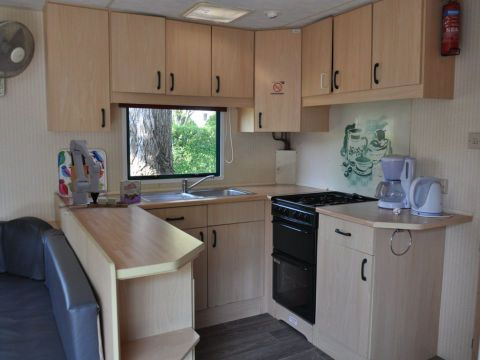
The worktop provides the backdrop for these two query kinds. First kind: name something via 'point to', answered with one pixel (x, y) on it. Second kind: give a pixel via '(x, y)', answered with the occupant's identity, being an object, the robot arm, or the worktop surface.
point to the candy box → (130, 191)
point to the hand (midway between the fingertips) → (94, 204)
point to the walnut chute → (118, 204)
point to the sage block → (111, 200)
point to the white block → (102, 200)
